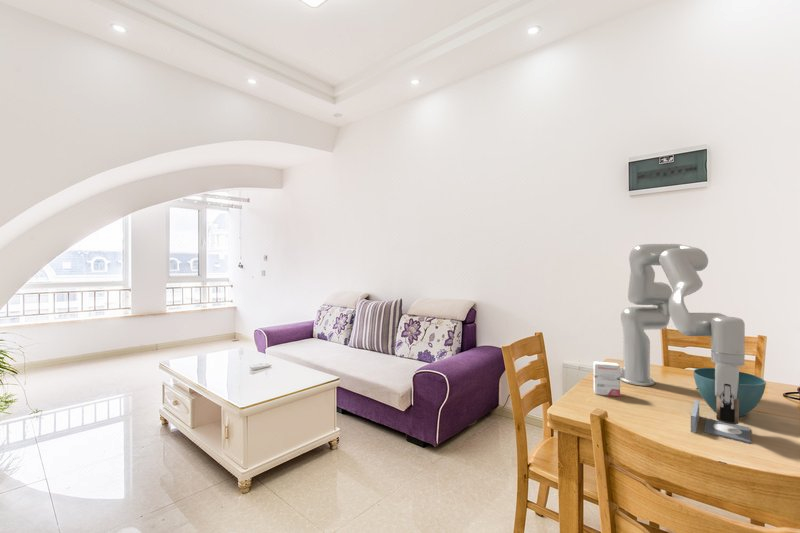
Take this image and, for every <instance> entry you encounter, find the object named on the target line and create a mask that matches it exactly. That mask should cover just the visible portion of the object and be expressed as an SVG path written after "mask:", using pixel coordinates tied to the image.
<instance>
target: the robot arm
mask: <svg viewBox="0 0 800 533" xmlns="http://www.w3.org/2000/svg"><path fill="white" fill-rule="evenodd" d="M628 262H629V266H630V274H629V275H630V276H629V280H628V281H629V282H628V288H627V299H628V301H629V302H630V303H631V305H637V306H631V307H626V308H625V309H624V308H623V310H622V311H621V313H620V321H621V325H622V326H621V327H622V334H623V338H622V339H623V341H622V342H623V351H622V352H623V353H622V354H623V368H622V367H620V382H623V383H626V384H629V385H634V386H635V385H636V386H642V387H645V386H646V387H647V386H654V385H655V382H656V381H655V380H654V379H653V378H652V377H651V340H650V338H649V336H648V335H647V334H646V332H645V331H647V330H650V331H651V330H654V331H655V330H664V329H666V328H667V327H668V325H669V323H670V320H672V322H673V325H674V326H675V328H676V329H677V331H678V332H679V333H680V334H681V335H683V336H687V337H710V338H711V339H710V340H711V341H710V356H711V357H710V361H711V362H713V363H715V365H714V368H715V395H716V396H717V397H718V396H721V406H720V420H722V421H727V422H731V423H734V422H735V409H734V400H735V399H737V393H738V384H739V372H740V367H744V366H746V365H745V364H746V363H745V359H746V358H745V355H746V354H745V352H746V348H745V341H746V340H745V339H746V338H745V336H746V335H745V334H746V333H745V332H746V331H745V329H746V327H745V326H746V325H745V322H744V320H743V319H742V318H740V317H736V316H727V315H725V314H722V313H721V312H720V313H719V312H689V310H688V309H687V307H686V306H687V305H686V304H685V297H687V296H690V295H692V294H694V293H696V292H697V291H699V290H701V289H702V287H703V281H702V279H701V277H700V275H699V274H698V272H701V271H703V270H705V269H706V268H707V267H708V266H709V258H708V255H707V254H706V252H705V251H704V250H703V249H701V248H698V247H695V246H689V245H685V244H680V243H644V244H638V245H636V246H633V248H632V249H631V250H630V252H629V257H628ZM653 266H661V268H662V270H663V272H664V275H665V276H666V278H667V280H668V282H669V284H668V283H666V282H661V281H660V282H659V281H655V277H656V272H655V270H654V268H653ZM723 395H725V397H723ZM730 396H732V398H730ZM730 400H731V401H730Z"/></svg>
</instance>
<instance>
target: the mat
mask: <svg viewBox="0 0 800 533" xmlns="http://www.w3.org/2000/svg"><path fill="white" fill-rule="evenodd" d="M750 432H751V431H750V427H749V426H745V425H740V424H728V423H724V422H721V421H719V420H717V419H713V418H712V419H711V418H708V417H707V418H706V419H705V426H704V434H708V435H711V434H712V435H713V436H716V437H721V438H725V439H728V438H729V439H730V440H732V439H733V440H734V441H737V442H742V443H745V444H751V443H752V441H751V439H752V438H751V433H750ZM733 440H732V441H733Z"/></svg>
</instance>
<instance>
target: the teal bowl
mask: <svg viewBox="0 0 800 533" xmlns="http://www.w3.org/2000/svg"><path fill="white" fill-rule="evenodd" d="M693 379H694V381H695V386H696V388H698V392H699V394H700V396H701V397H702V400H704V401H705V404H707V405H708V406H709V407H710V409H711V410H713V411H714V412H716V413H717V396H716V395H715V367H700V368H696V369H694V370H693ZM766 385H767V384H766V380H765V379H764V378H762V377H759V376H757V375H754V374H751V373H748V372H743V371H739V384H738V393H737V398H738V399H739V417H743V416H746V415H747V414H748V413H750V412H751V411H753V409H755V408H756V407H757V406H758V404H759V403H760V402H761V400H762V398H763V396H764V393H765V389H766Z"/></svg>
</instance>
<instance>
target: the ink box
mask: <svg viewBox="0 0 800 533" xmlns="http://www.w3.org/2000/svg"><path fill="white" fill-rule="evenodd" d="M592 364H593V368H592V369H593V370H592V371H593V374H592V375H593V379H592V380H593V382H592V383H593V385H592V386H593V393H594V394H595V395H599V396H600V395H603V396H610V397H611V396H612V397H621V380H620V369H621V366H620V365H619V363H617V362H606V361H605V362H604V361H593V362H592Z"/></svg>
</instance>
